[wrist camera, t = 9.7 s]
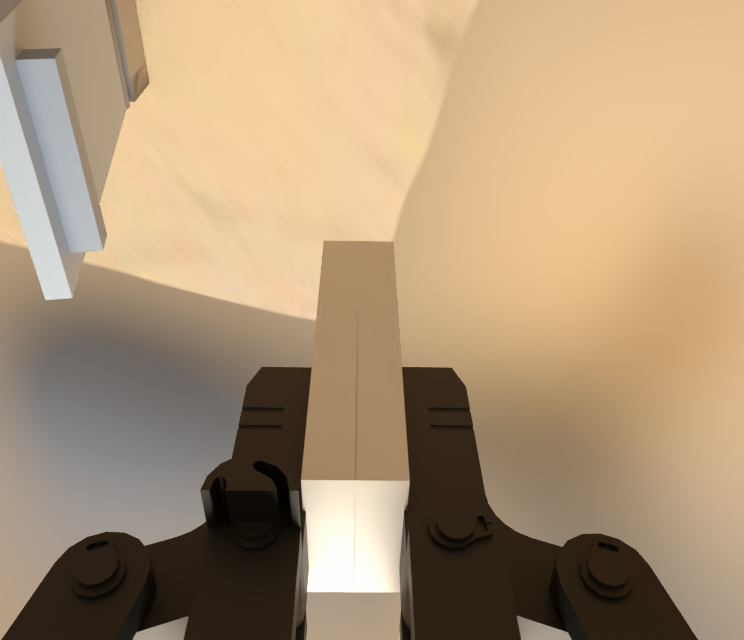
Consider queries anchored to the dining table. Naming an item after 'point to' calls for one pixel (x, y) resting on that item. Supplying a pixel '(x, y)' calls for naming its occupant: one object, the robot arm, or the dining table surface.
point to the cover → (59, 127)
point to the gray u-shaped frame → (130, 46)
